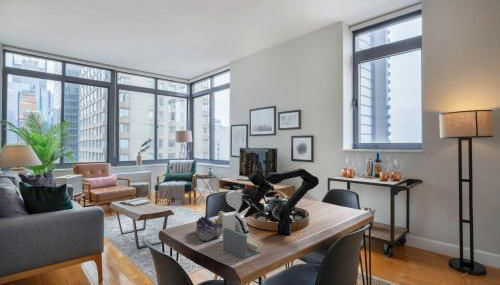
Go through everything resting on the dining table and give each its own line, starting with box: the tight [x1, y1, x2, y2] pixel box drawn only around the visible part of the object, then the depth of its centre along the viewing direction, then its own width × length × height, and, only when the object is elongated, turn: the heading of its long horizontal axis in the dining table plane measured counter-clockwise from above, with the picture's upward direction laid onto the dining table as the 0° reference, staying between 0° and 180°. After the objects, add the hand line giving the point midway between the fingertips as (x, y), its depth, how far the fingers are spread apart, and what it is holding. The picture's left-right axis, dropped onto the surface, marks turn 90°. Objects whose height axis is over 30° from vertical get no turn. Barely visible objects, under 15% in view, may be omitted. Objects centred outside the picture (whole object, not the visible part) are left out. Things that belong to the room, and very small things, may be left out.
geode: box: [195, 215, 221, 243], centre depth 142 cm, size 20×12×10 cm, turn 30°
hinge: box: [232, 212, 250, 234], centre depth 152 cm, size 17×5×10 cm, turn 25°
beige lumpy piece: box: [212, 210, 225, 225], centre depth 158 cm, size 11×9×9 cm
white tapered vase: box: [221, 211, 236, 235], centre depth 133 cm, size 6×6×14 cm
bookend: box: [222, 228, 260, 260], centre depth 121 cm, size 10×14×10 cm
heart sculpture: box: [225, 189, 245, 219], centre depth 176 cm, size 16×5×18 cm, turn 125°
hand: (241, 214), depth 135 cm, fingers open, 9 cm apart
